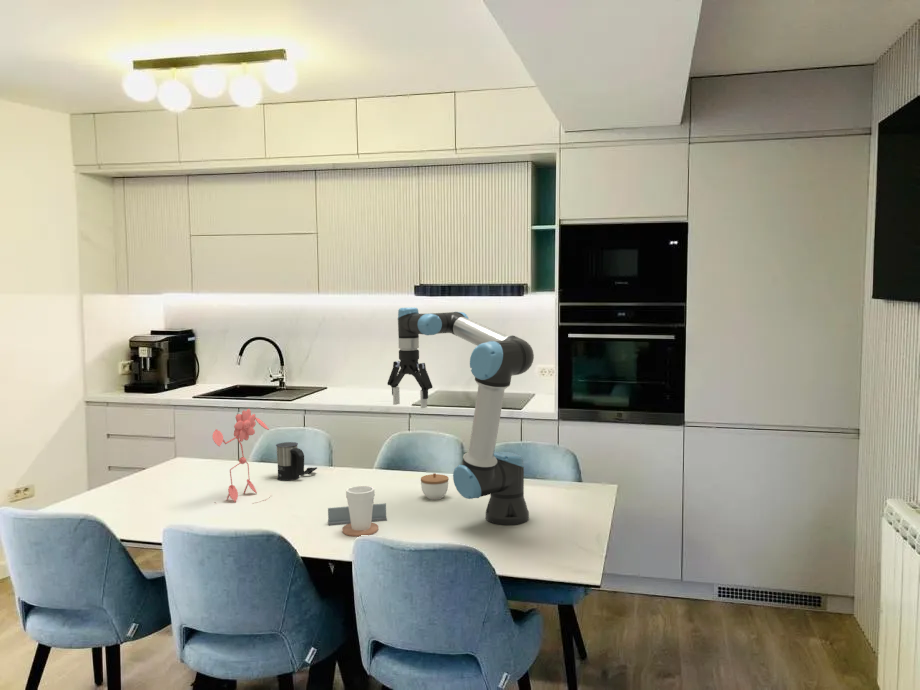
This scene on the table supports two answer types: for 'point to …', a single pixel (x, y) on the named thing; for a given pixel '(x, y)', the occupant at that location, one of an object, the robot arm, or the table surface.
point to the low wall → (343, 516)
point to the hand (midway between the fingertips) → (409, 406)
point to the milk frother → (290, 461)
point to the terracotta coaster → (350, 532)
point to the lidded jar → (434, 486)
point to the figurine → (243, 431)
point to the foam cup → (360, 506)
